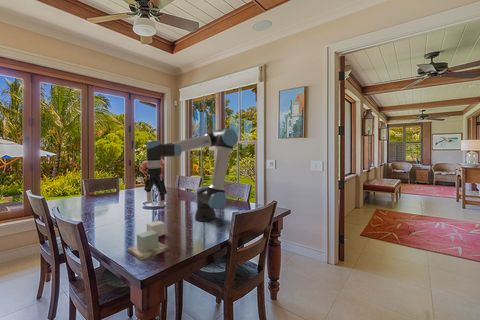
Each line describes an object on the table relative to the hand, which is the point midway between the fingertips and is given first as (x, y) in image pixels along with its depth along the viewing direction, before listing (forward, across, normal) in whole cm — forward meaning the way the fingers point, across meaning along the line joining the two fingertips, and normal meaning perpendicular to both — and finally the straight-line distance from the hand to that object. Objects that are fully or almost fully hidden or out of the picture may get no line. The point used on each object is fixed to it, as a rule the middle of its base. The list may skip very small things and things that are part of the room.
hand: (155, 204), depth 133 cm
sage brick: (+17, +15, -13) cm, 26 cm away
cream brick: (+18, -1, 0) cm, 18 cm away
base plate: (+18, +15, -13) cm, 27 cm away
